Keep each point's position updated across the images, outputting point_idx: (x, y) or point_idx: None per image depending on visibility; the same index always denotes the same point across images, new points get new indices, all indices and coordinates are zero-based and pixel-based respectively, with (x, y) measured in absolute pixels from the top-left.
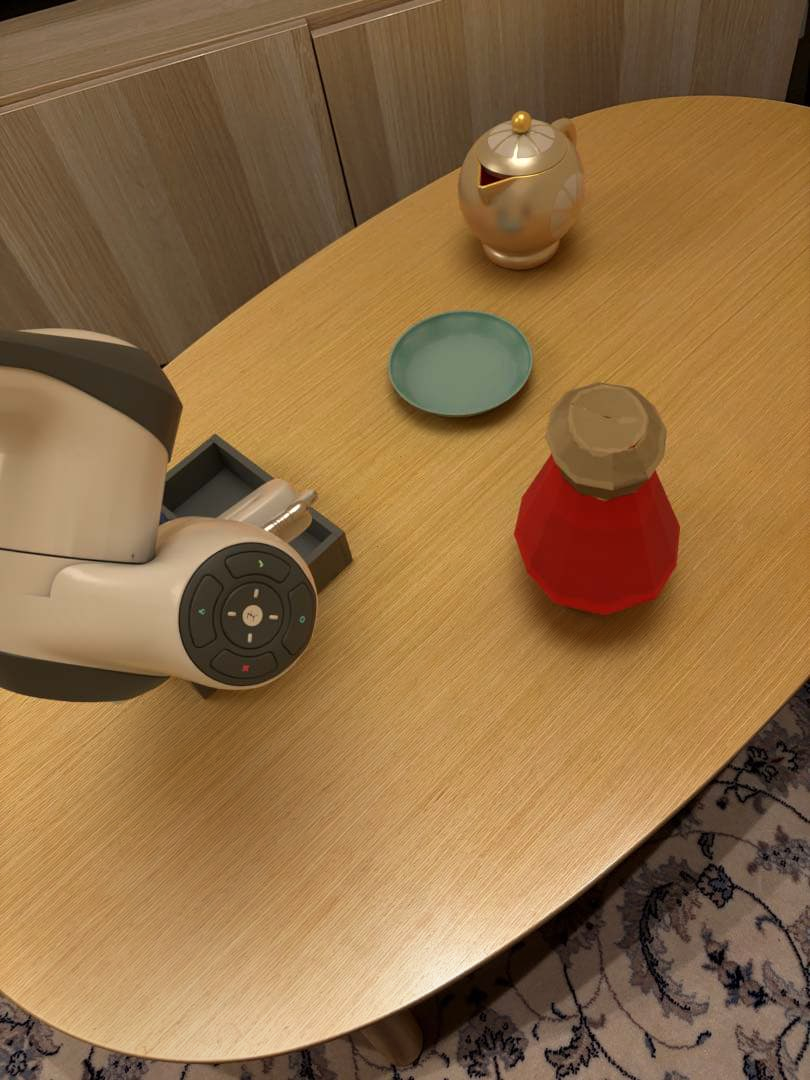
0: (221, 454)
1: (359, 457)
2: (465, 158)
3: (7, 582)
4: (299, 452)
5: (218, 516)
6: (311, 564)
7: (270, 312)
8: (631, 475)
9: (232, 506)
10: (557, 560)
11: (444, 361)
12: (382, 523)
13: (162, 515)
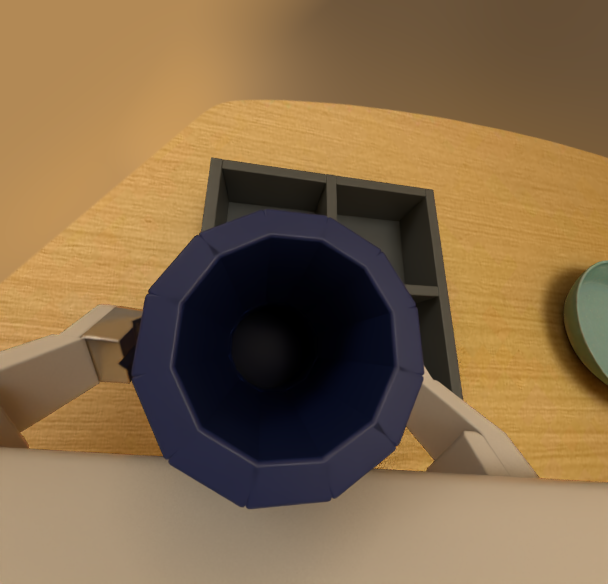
0: (414, 211)
1: (490, 317)
2: None
3: None
4: (453, 265)
5: (539, 523)
6: None
7: (513, 145)
8: None
9: (599, 522)
10: None
11: (604, 308)
12: (464, 396)
13: (412, 380)
